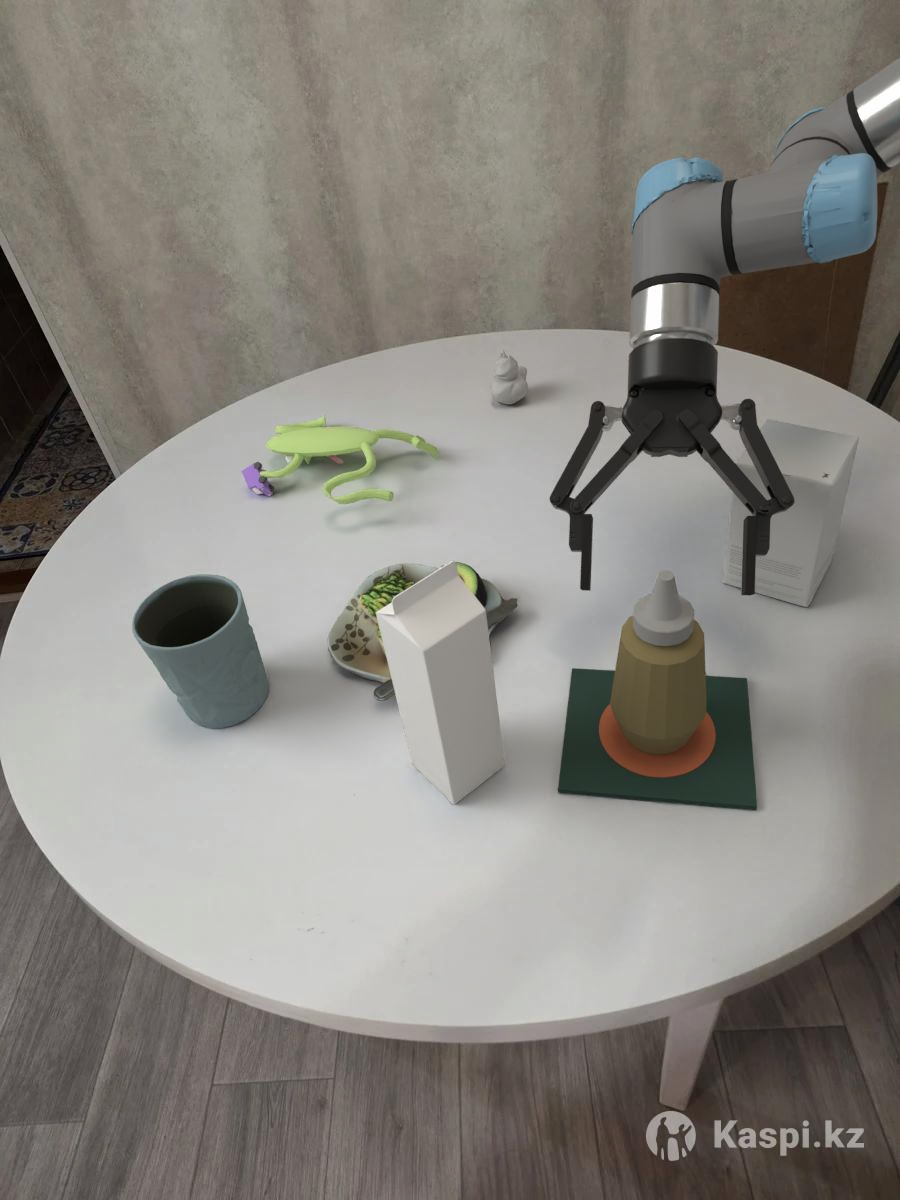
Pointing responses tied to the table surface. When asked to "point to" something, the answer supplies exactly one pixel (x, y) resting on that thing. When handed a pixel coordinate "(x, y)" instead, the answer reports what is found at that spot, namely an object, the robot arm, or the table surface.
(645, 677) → the squeeze bottle
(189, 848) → the table surface
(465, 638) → the milk
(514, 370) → the rubber duck
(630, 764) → the mat
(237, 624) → the grey-green cup
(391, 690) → the salad plate
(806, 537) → the white product box
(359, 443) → the figurine
